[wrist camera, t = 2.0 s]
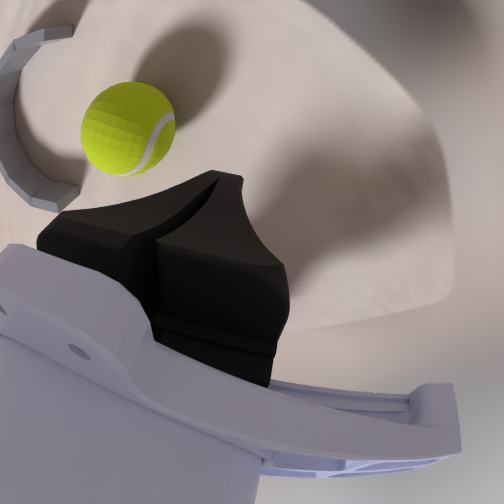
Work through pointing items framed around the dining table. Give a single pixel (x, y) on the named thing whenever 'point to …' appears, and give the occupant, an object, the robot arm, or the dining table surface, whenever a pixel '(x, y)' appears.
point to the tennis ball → (128, 129)
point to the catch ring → (4, 132)
